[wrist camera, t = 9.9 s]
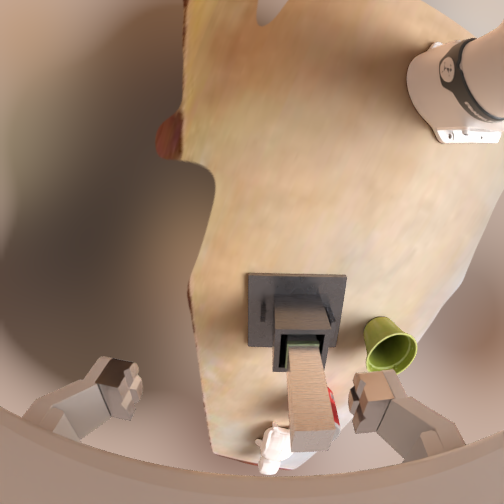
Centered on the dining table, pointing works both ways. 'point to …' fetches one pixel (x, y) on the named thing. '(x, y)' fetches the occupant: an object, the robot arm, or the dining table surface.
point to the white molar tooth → (273, 449)
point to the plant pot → (388, 346)
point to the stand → (294, 310)
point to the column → (307, 395)
